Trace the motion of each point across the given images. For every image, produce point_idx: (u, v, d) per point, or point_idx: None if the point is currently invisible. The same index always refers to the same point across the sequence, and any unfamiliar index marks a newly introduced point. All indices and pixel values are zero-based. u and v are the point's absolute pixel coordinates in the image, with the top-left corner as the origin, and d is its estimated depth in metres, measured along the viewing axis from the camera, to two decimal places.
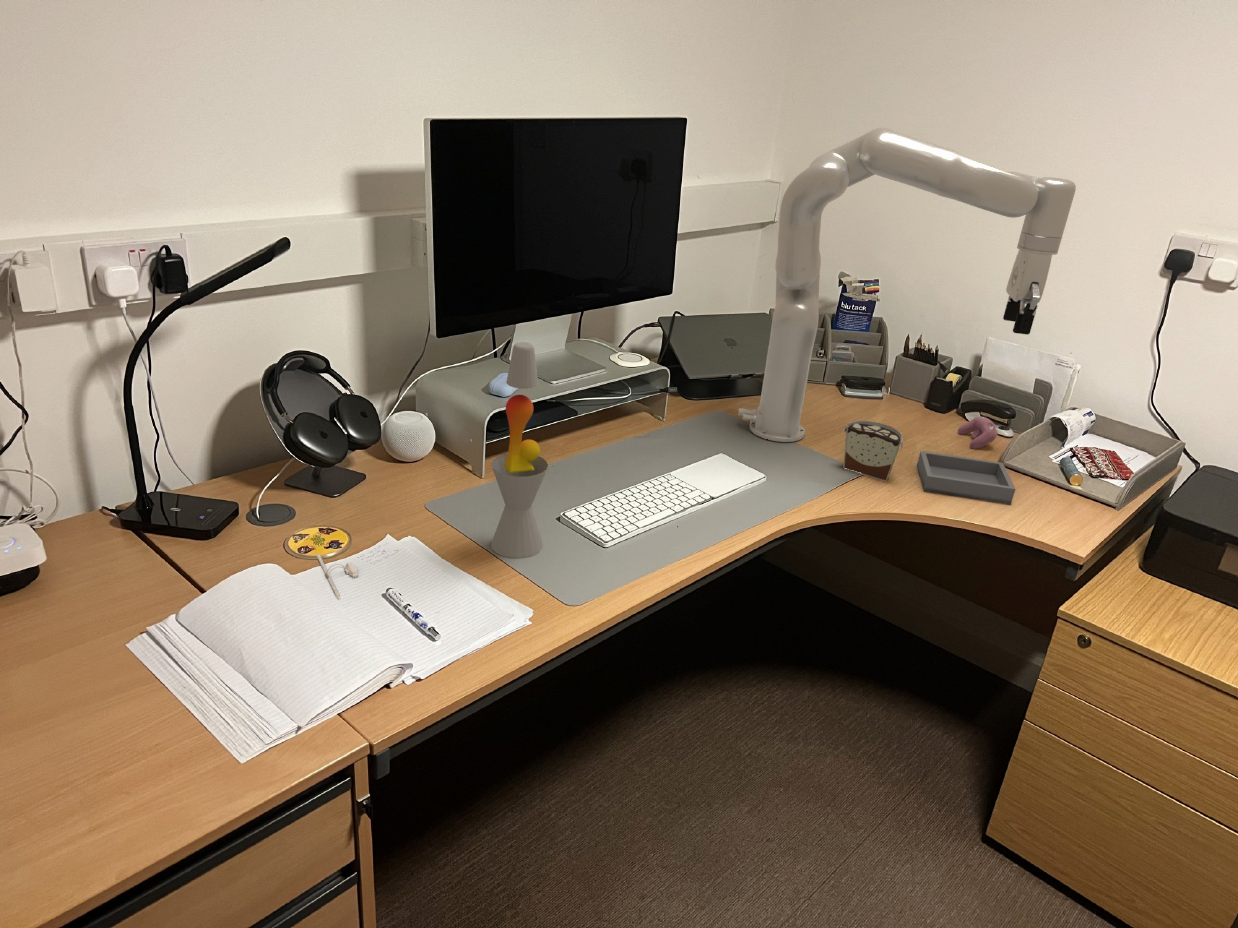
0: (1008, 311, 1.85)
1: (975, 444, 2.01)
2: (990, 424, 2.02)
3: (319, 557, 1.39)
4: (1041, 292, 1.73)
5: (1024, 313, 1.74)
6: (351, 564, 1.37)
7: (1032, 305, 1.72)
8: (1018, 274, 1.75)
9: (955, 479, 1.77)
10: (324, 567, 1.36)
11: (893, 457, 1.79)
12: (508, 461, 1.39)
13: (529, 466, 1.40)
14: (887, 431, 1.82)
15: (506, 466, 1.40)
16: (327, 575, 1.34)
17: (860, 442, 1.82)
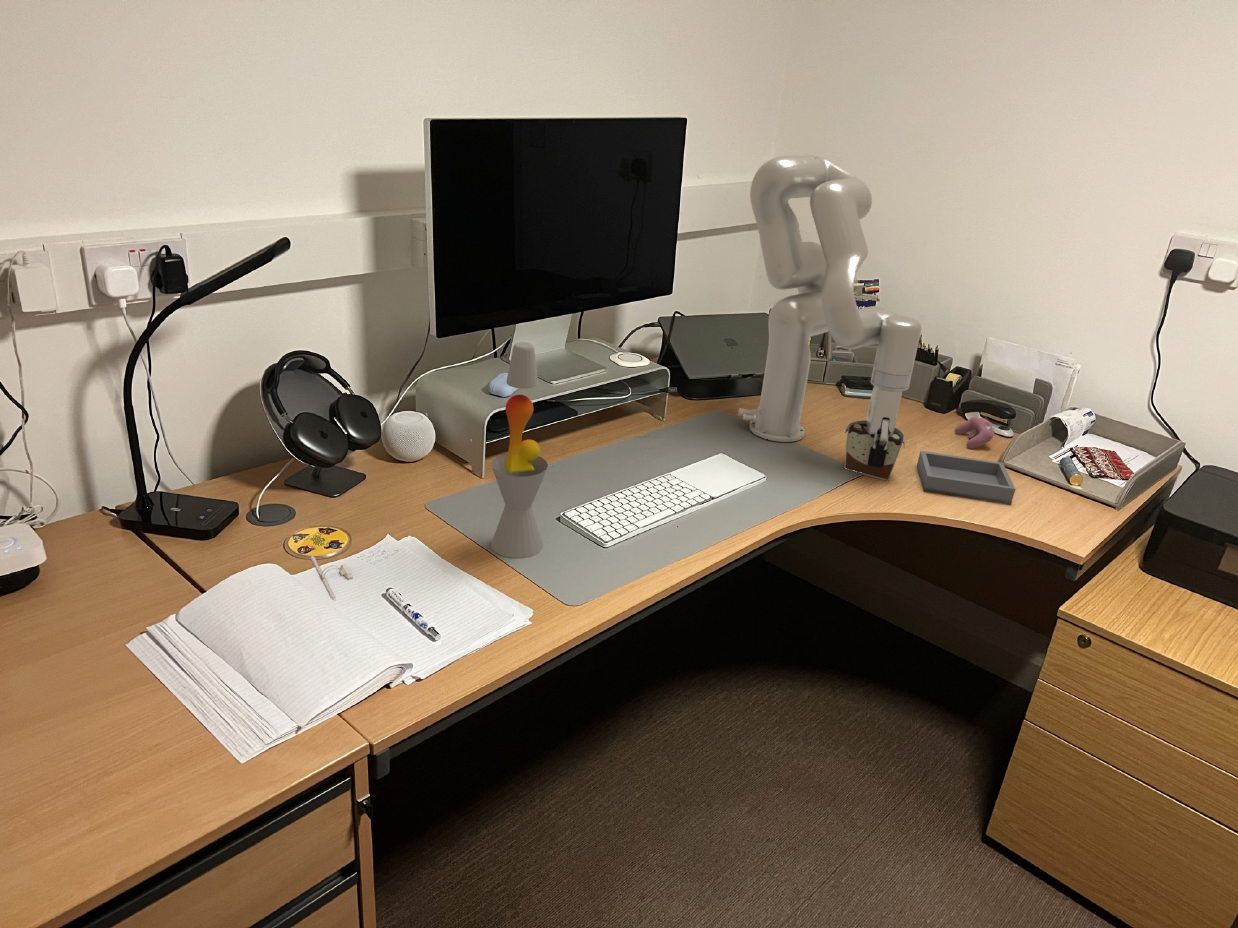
0: None
1: (971, 444, 2.00)
2: (987, 424, 2.02)
3: (313, 559, 1.38)
4: (893, 427, 1.76)
5: (875, 448, 1.78)
6: (346, 565, 1.36)
7: (881, 443, 1.76)
8: (871, 408, 1.78)
9: (955, 479, 1.77)
10: (319, 569, 1.36)
11: (895, 456, 1.79)
12: (508, 461, 1.39)
13: (529, 466, 1.40)
14: None
15: (506, 466, 1.40)
16: (322, 577, 1.34)
17: (861, 442, 1.82)
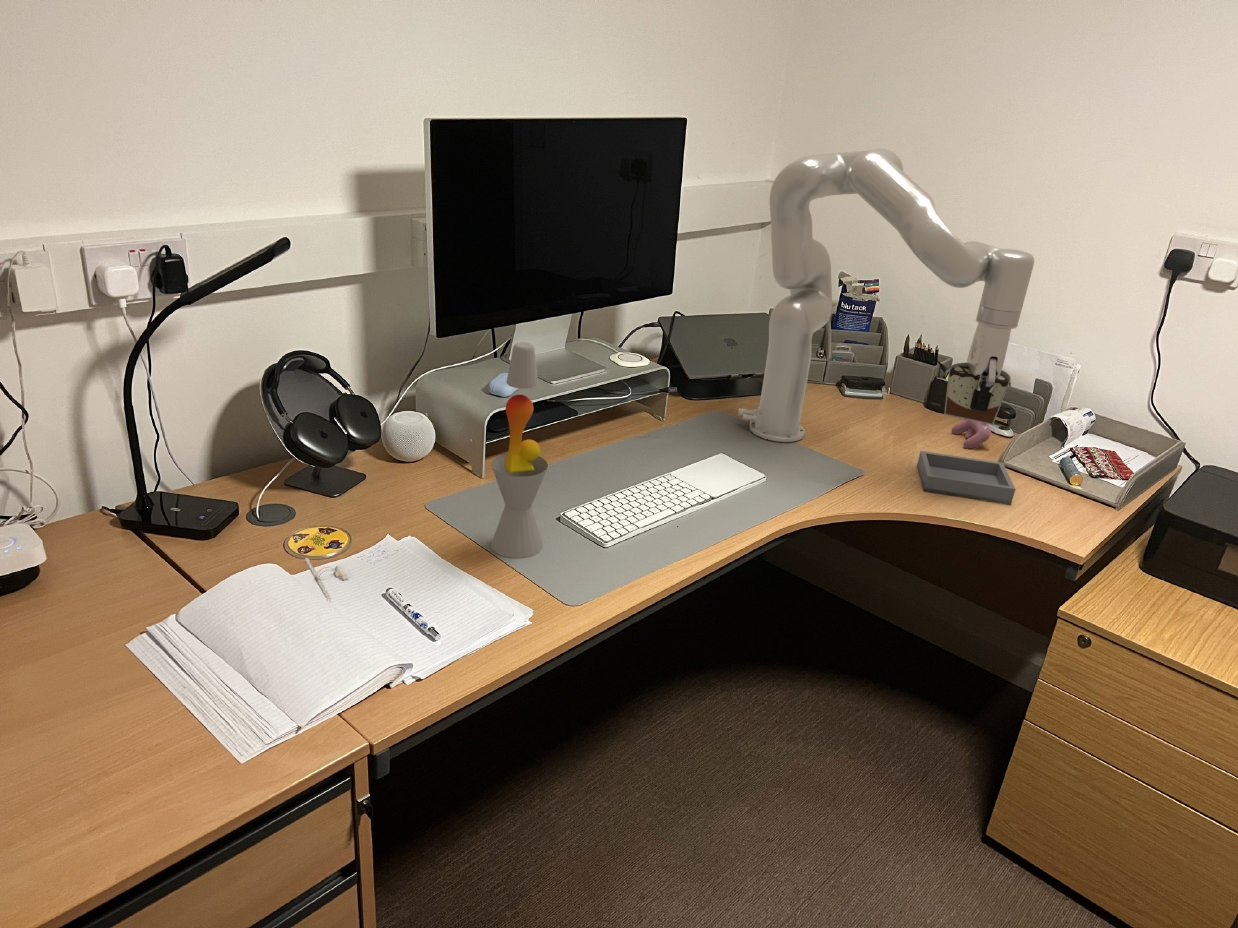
0: None
1: (968, 444, 2.00)
2: (984, 424, 2.02)
3: (307, 560, 1.38)
4: (1000, 367, 1.67)
5: (980, 390, 1.70)
6: (340, 567, 1.36)
7: (988, 385, 1.67)
8: (977, 347, 1.69)
9: (955, 479, 1.77)
10: (313, 570, 1.35)
11: (1001, 398, 1.71)
12: (508, 461, 1.39)
13: (529, 466, 1.40)
14: None
15: (506, 466, 1.40)
16: (317, 578, 1.33)
17: (963, 385, 1.73)
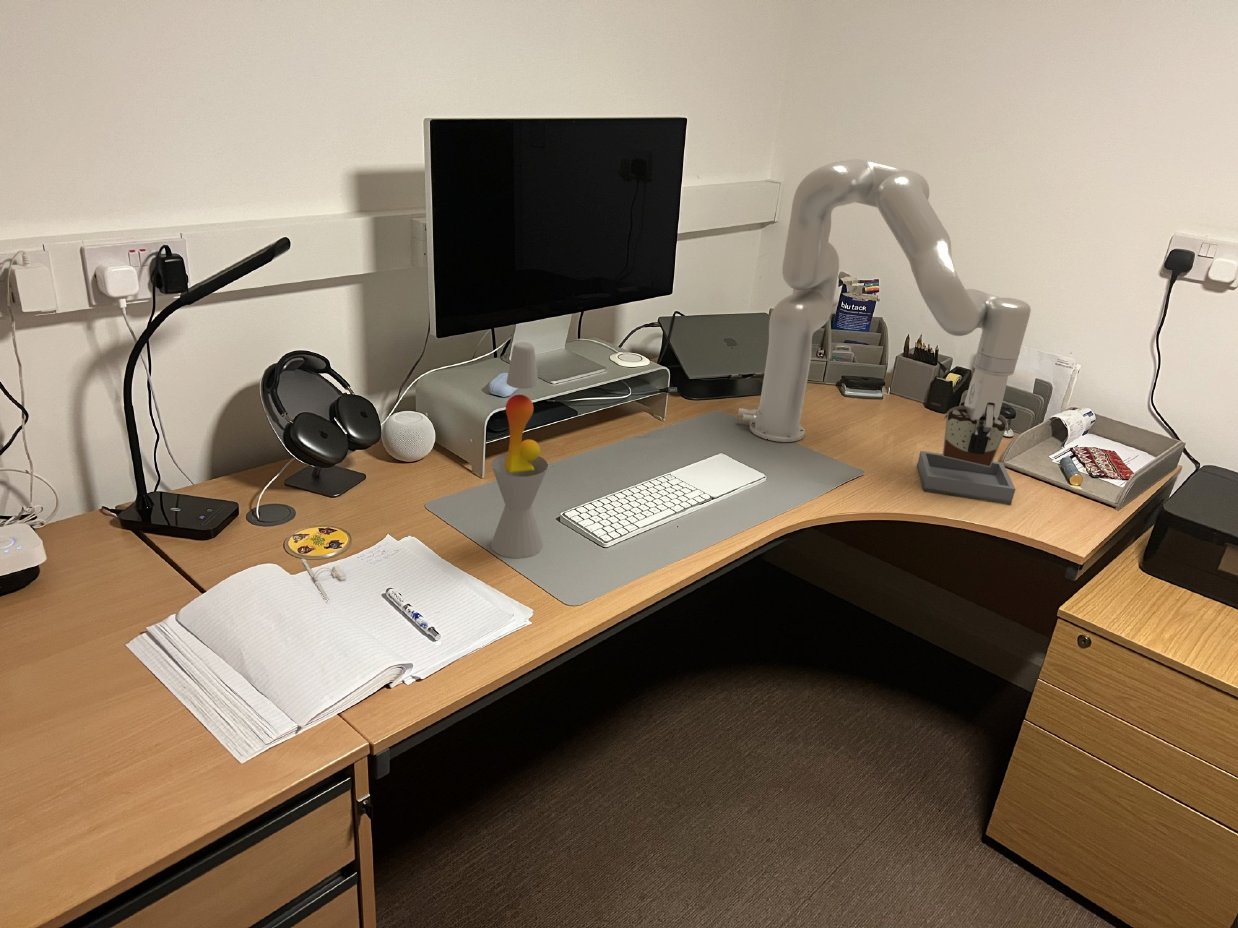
0: None
1: None
2: None
3: (304, 561, 1.37)
4: (997, 412, 1.71)
5: (978, 434, 1.74)
6: (338, 567, 1.36)
7: (985, 430, 1.71)
8: (974, 393, 1.73)
9: (955, 479, 1.77)
10: (310, 571, 1.35)
11: (998, 442, 1.75)
12: (508, 461, 1.39)
13: (529, 466, 1.40)
14: None
15: (506, 466, 1.40)
16: (314, 579, 1.33)
17: (961, 429, 1.77)
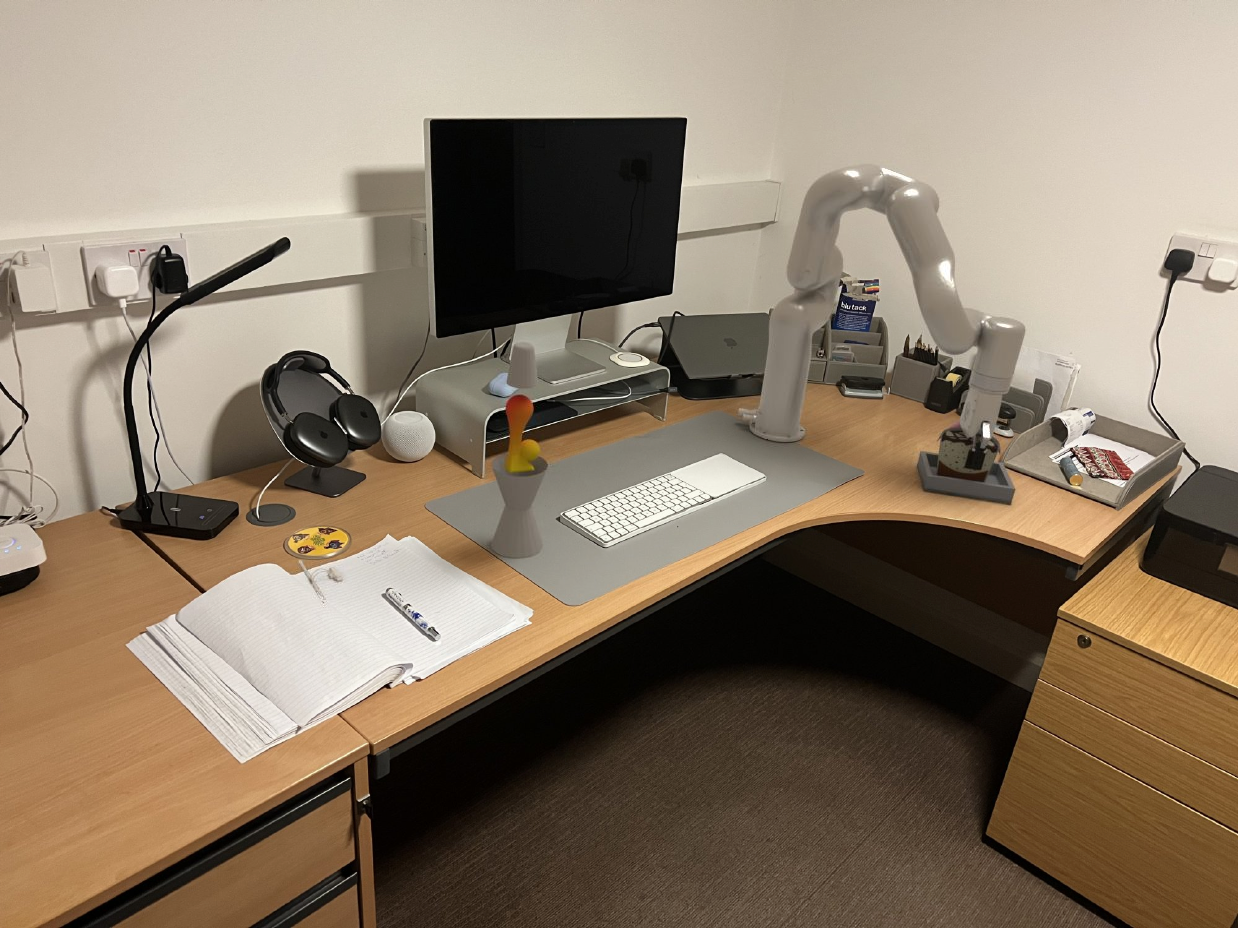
0: None
1: None
2: None
3: (301, 562, 1.37)
4: (992, 430, 1.72)
5: (975, 451, 1.74)
6: (334, 568, 1.36)
7: (982, 445, 1.71)
8: (969, 411, 1.74)
9: (955, 479, 1.77)
10: (307, 572, 1.35)
11: (991, 463, 1.78)
12: (508, 461, 1.39)
13: (529, 466, 1.40)
14: None
15: (506, 466, 1.40)
16: (311, 580, 1.33)
17: (954, 450, 1.80)
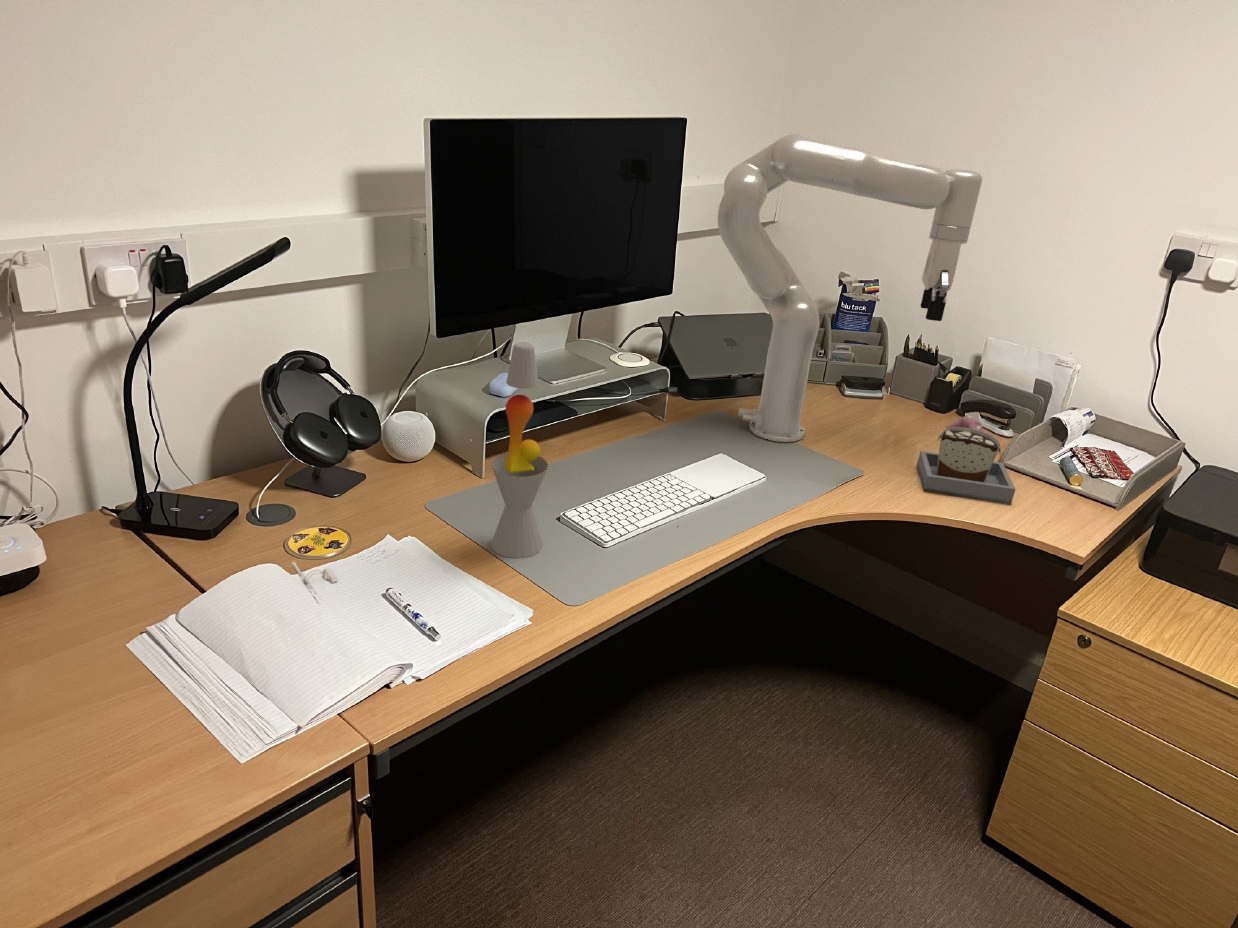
0: (925, 299, 1.91)
1: None
2: (977, 424, 2.01)
3: (294, 564, 1.37)
4: (951, 280, 1.80)
5: (935, 300, 1.81)
6: (329, 569, 1.35)
7: (941, 292, 1.78)
8: (930, 263, 1.82)
9: (955, 479, 1.77)
10: (301, 574, 1.34)
11: (991, 463, 1.78)
12: (508, 461, 1.39)
13: (529, 466, 1.40)
14: (979, 436, 1.81)
15: (506, 466, 1.40)
16: (306, 582, 1.32)
17: (955, 449, 1.80)
